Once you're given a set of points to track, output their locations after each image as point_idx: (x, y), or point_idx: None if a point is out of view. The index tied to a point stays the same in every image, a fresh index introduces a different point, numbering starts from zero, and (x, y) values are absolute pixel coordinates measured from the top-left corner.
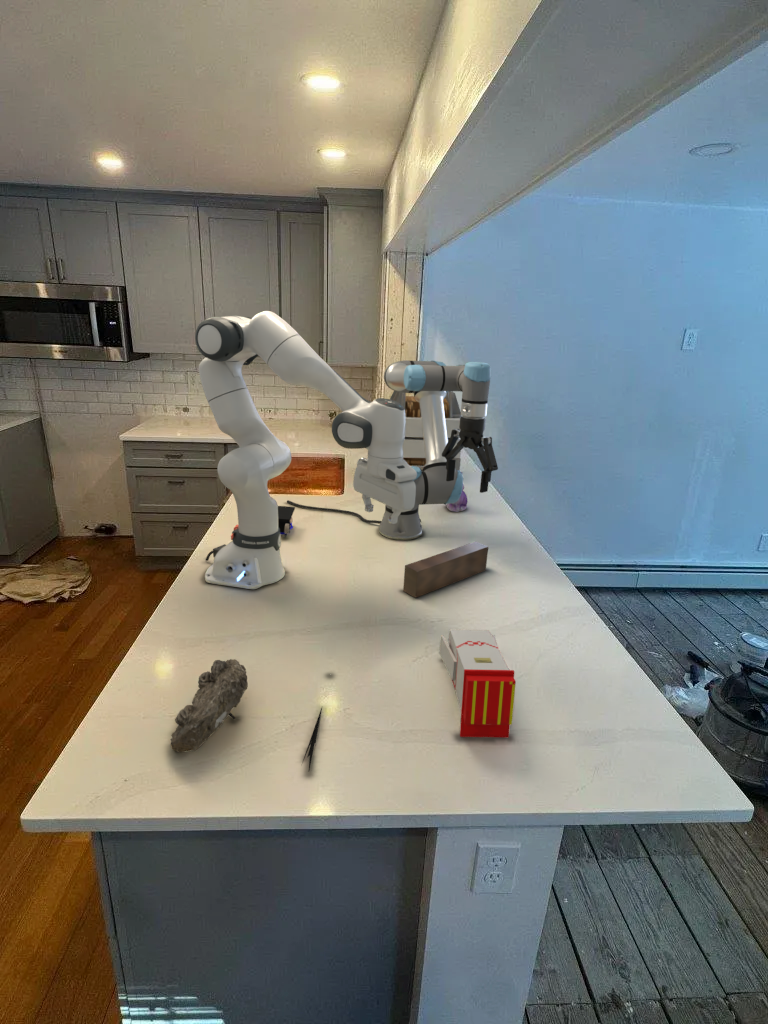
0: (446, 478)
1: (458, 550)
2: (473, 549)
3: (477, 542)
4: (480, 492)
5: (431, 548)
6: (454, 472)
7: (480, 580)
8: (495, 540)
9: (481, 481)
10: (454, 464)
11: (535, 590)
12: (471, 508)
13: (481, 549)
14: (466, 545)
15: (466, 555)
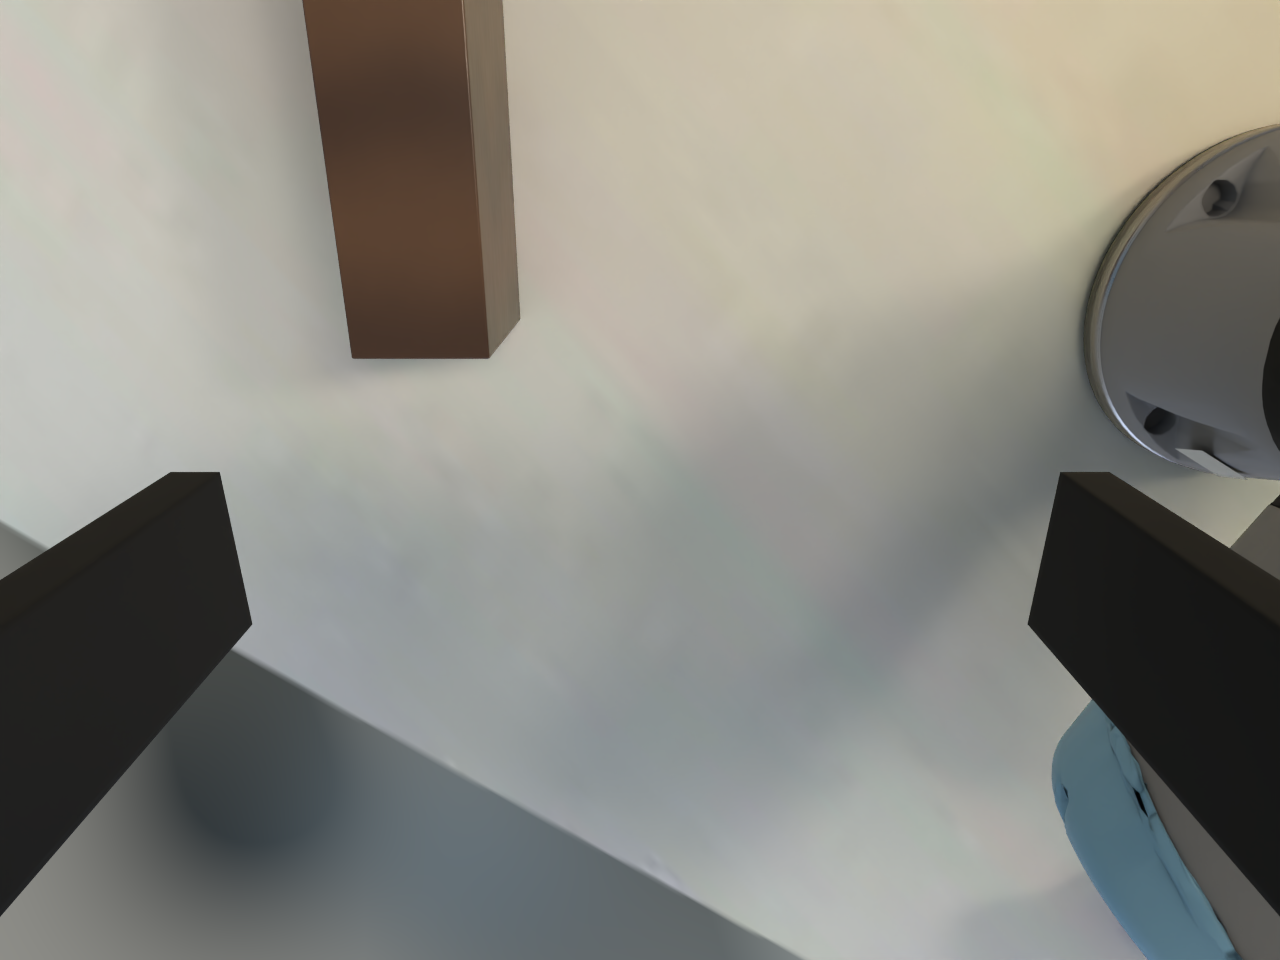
0: (1138, 492)
1: (413, 50)
2: (364, 195)
3: (463, 349)
4: (198, 473)
5: (891, 281)
6: (1114, 724)
7: (312, 162)
8: (698, 709)
9: (44, 582)
10: (1269, 869)
11: (44, 351)
12: (1107, 943)
13: (339, 264)
14: (464, 214)
15: (311, 46)
